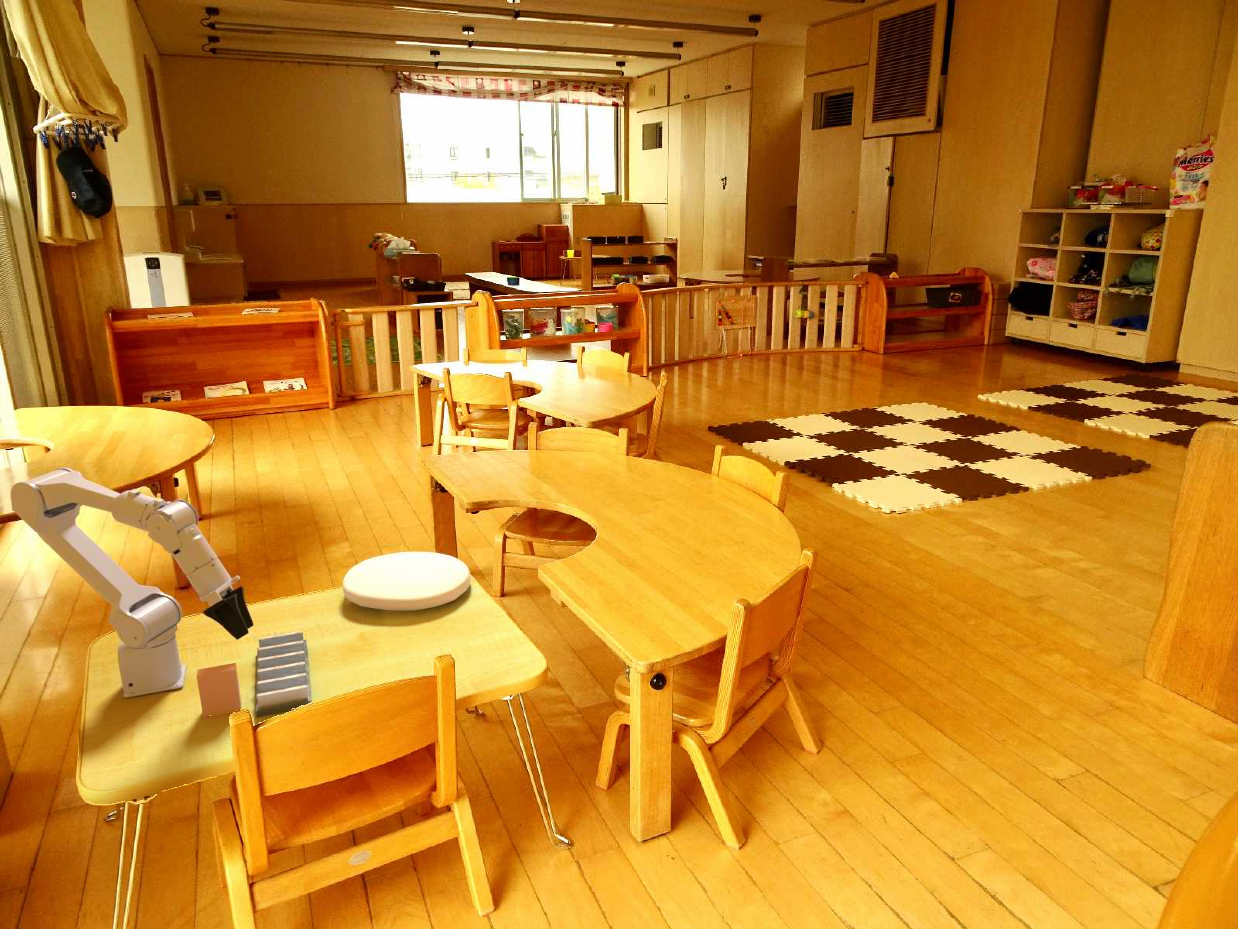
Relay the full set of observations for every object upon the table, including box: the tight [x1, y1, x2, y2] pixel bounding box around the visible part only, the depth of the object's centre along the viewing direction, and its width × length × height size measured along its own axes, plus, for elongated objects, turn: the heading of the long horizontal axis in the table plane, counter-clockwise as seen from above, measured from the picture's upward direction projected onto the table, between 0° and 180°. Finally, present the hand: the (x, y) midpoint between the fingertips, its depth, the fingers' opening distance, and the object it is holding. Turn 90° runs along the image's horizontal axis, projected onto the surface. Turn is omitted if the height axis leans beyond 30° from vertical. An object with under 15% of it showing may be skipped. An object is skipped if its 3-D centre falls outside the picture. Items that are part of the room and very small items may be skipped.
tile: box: [196, 662, 243, 718], centre depth 146 cm, size 6×2×8 cm, turn 112°
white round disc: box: [342, 551, 472, 612], centre depth 191 cm, size 28×6×27 cm
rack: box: [255, 630, 313, 718], centre depth 156 cm, size 9×23×4 cm, turn 22°
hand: (245, 632), depth 148 cm, fingers open, 7 cm apart
